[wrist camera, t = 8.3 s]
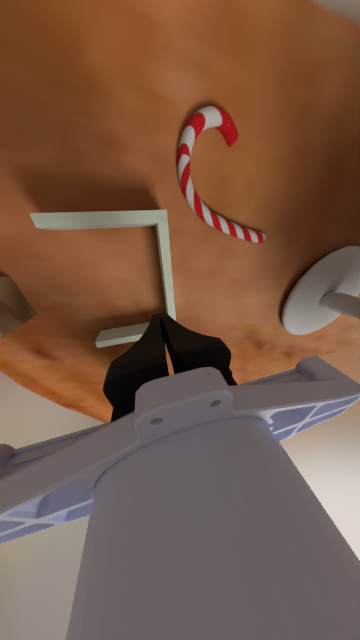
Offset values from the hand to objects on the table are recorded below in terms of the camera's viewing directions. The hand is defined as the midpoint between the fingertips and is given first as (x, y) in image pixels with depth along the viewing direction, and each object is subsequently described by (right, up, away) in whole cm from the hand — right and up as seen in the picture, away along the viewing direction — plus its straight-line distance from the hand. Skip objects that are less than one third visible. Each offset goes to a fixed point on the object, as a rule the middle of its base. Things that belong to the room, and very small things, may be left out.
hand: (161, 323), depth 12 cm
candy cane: (+8, +16, +4) cm, 18 cm away
